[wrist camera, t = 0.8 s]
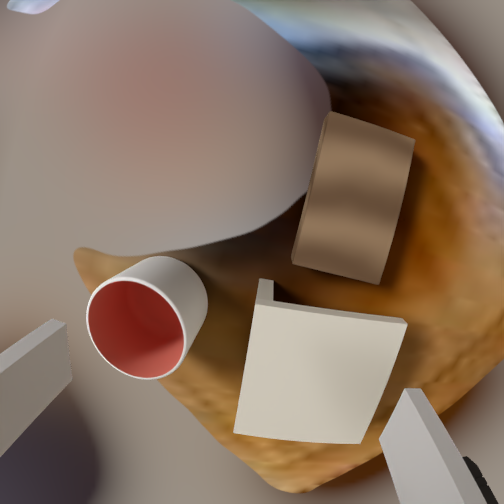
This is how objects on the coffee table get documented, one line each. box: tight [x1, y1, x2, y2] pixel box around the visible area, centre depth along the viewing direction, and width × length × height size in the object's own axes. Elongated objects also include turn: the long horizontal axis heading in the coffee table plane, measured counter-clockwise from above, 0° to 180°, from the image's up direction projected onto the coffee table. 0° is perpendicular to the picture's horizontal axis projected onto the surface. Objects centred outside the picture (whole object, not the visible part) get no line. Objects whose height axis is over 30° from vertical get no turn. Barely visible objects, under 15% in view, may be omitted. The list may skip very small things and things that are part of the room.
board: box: [291, 111, 415, 285], centre depth 31 cm, size 15×9×4 cm, turn 167°
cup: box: [86, 256, 208, 380], centre depth 31 cm, size 10×10×10 cm
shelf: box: [233, 279, 408, 444], centre depth 32 cm, size 15×14×8 cm
